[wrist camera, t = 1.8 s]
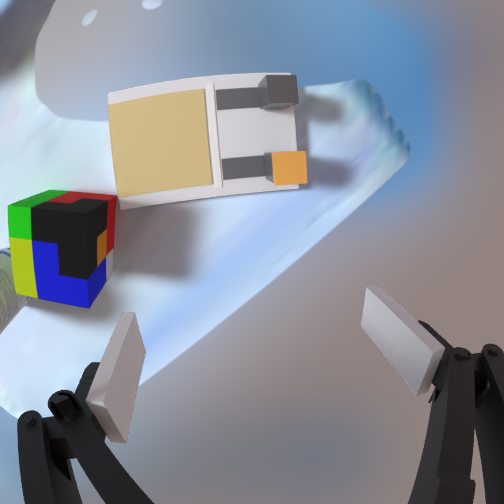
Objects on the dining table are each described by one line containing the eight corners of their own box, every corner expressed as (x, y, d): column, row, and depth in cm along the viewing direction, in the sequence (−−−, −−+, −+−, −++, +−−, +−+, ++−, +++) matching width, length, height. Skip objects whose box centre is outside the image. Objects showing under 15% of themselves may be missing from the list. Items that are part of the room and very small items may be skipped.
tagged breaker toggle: (262, 151, 31) (273, 152, 27) (290, 150, 32) (305, 150, 27) (264, 179, 33) (275, 185, 28) (292, 177, 33) (307, 183, 28)
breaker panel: (112, 96, 29) (107, 93, 27) (286, 76, 31) (291, 72, 29) (124, 206, 34) (120, 210, 31) (294, 186, 36) (299, 188, 34)
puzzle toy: (113, 270, 36) (89, 308, 27) (50, 261, 34) (16, 293, 25) (116, 195, 33) (86, 213, 24) (49, 189, 31) (7, 205, 22)
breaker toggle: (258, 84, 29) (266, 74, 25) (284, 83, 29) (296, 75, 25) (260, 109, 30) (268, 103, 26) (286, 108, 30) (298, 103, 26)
